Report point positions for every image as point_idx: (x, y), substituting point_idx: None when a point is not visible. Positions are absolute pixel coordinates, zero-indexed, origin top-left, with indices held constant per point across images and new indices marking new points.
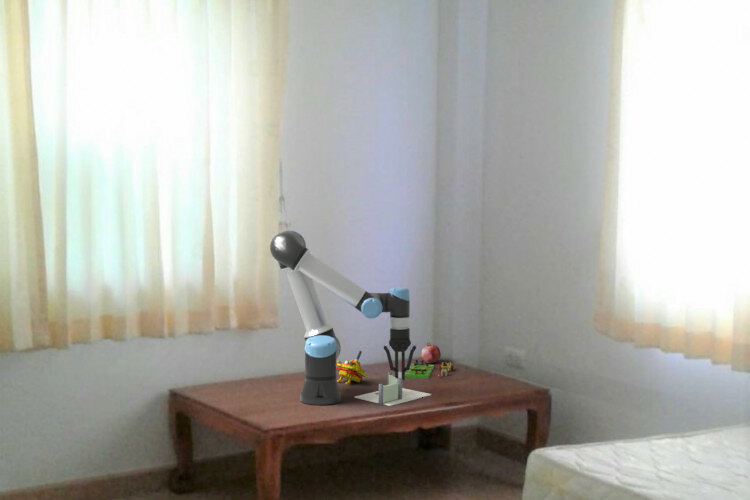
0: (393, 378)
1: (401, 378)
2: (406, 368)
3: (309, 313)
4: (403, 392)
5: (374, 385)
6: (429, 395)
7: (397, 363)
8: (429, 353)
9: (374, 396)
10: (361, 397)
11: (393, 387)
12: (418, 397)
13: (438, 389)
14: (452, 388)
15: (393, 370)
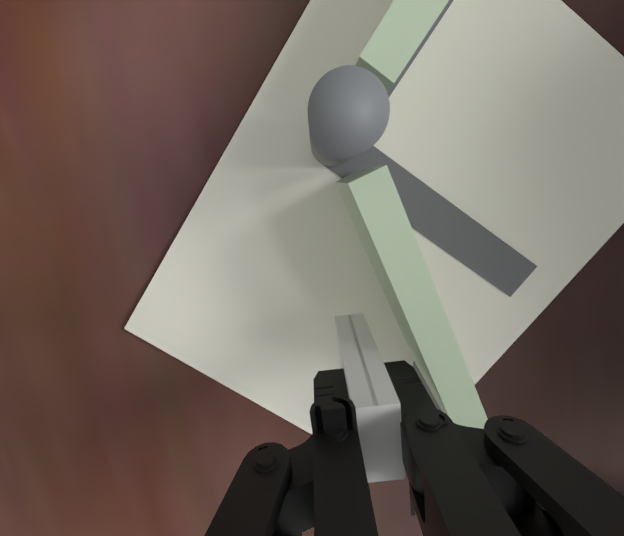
0: (437, 293)
1: (325, 126)
2: (285, 464)
3: None
4: (324, 340)
5: None
6: (136, 311)
7: (465, 530)
8: None
9: (537, 174)
10: None
11: None
12: (191, 210)
13: (122, 475)
14: (47, 510)
15: (474, 431)
